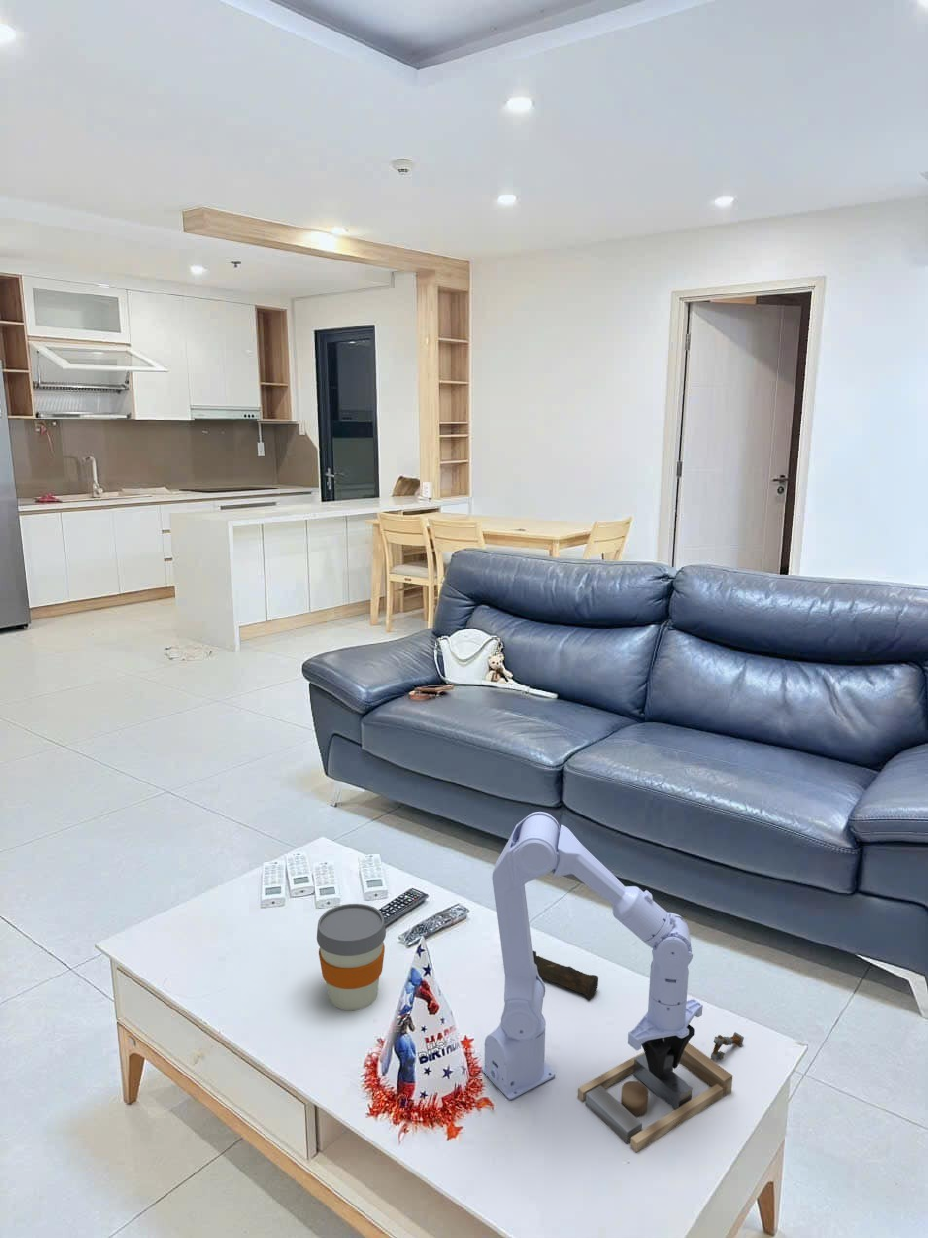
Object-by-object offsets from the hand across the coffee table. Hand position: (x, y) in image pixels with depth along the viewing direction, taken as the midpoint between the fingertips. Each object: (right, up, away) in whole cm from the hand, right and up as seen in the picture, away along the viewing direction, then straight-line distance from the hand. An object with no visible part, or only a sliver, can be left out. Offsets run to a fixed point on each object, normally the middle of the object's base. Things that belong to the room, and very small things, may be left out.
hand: (663, 1068), depth 136 cm
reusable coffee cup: (-52, +1, +24) cm, 57 cm away
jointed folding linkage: (+13, -2, +9) cm, 16 cm away
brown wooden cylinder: (-5, -5, -2) cm, 7 cm away
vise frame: (-1, -4, 0) cm, 4 cm away
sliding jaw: (0, -4, +1) cm, 4 cm away
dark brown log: (-15, +2, +28) cm, 32 cm away
